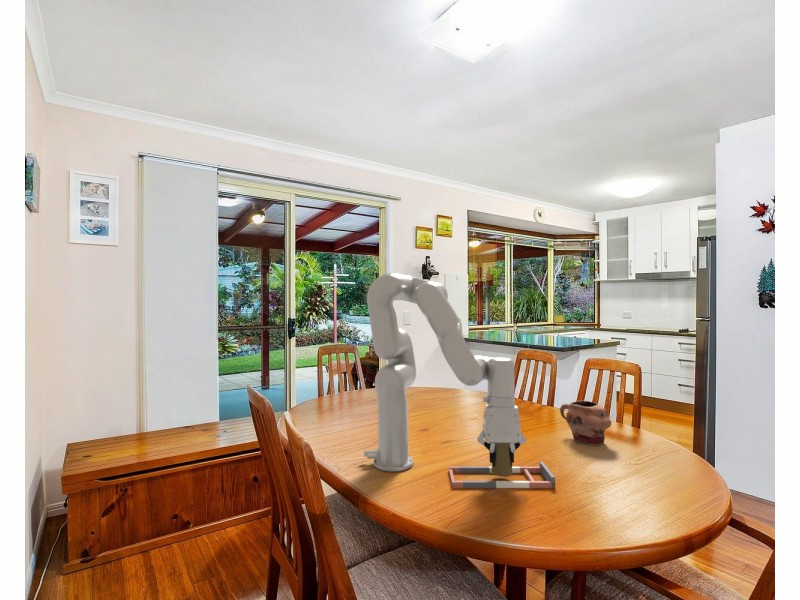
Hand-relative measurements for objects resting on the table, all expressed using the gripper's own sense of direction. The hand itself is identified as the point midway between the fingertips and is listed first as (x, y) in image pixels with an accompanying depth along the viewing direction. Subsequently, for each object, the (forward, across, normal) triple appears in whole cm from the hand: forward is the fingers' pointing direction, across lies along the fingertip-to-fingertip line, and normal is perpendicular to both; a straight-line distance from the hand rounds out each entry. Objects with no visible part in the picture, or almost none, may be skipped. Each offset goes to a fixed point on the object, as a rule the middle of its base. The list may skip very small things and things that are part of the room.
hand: (501, 464), depth 122 cm
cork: (+2, 0, 0) cm, 2 cm away
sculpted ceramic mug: (+5, +36, +33) cm, 49 cm away
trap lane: (+4, -1, 0) cm, 4 cm away
